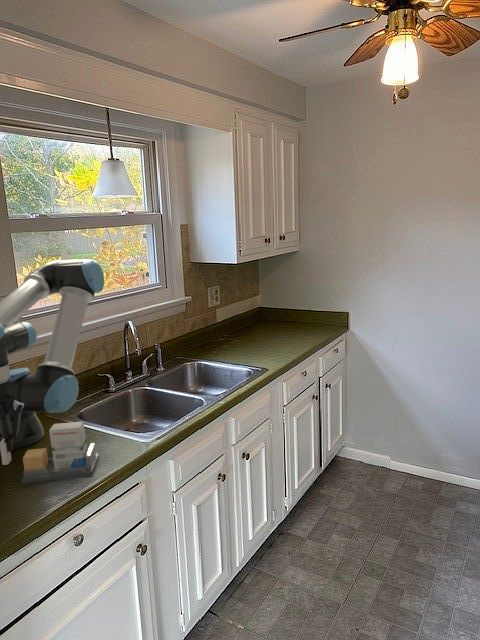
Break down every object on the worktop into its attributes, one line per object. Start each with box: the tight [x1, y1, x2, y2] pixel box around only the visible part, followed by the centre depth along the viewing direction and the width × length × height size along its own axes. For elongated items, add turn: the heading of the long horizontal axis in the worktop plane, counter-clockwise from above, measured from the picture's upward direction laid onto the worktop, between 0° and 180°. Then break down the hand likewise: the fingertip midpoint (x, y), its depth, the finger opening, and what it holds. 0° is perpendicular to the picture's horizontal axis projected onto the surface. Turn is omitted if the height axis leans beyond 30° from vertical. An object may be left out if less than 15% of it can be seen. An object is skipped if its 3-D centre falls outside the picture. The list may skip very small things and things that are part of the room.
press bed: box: [21, 442, 100, 485], centre depth 137 cm, size 11×18×6 cm, turn 97°
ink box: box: [48, 421, 88, 469], centre depth 136 cm, size 9×5×12 cm, turn 95°
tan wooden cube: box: [22, 447, 49, 471], centre depth 136 cm, size 5×5×4 cm
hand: (7, 462), depth 135 cm, fingers closed
